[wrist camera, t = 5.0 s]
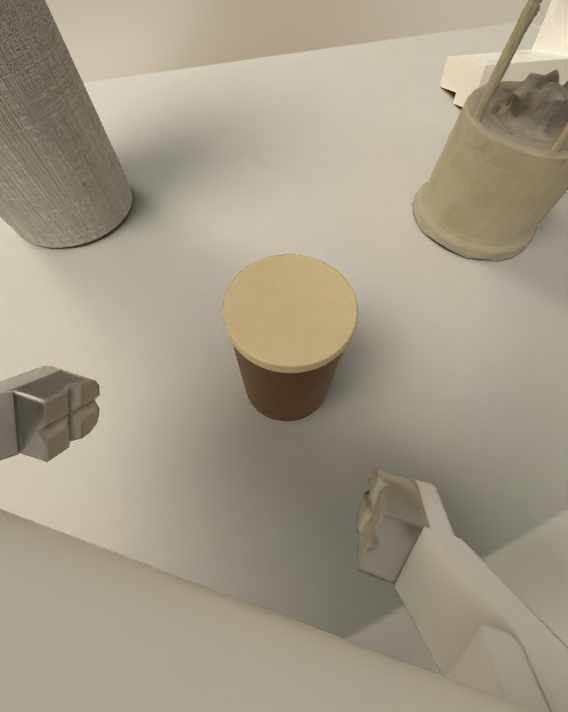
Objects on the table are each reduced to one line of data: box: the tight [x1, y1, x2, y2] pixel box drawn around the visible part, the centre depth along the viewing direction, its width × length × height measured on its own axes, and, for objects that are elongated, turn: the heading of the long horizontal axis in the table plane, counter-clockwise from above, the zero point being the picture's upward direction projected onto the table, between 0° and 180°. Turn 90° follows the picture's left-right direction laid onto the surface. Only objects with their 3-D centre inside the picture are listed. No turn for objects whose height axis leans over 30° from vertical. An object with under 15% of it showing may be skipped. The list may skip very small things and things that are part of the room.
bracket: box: [440, 0, 568, 107], centre depth 33 cm, size 13×7×8 cm, turn 101°
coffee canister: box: [223, 254, 358, 421], centre depth 17 cm, size 6×6×8 cm
